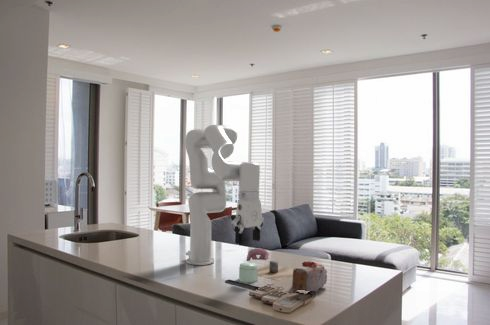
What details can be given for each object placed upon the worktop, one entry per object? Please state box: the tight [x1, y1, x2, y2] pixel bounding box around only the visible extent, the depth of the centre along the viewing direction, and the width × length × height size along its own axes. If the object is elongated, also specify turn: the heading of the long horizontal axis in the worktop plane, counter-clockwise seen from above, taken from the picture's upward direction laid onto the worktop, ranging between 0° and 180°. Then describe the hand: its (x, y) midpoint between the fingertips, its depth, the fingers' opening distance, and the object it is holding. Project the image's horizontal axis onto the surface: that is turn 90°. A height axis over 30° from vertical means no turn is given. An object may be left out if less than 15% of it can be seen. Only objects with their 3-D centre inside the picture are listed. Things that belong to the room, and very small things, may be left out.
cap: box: [238, 262, 259, 284], centre depth 145 cm, size 7×7×6 cm
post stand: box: [257, 260, 294, 282], centre depth 157 cm, size 18×18×6 cm
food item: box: [291, 261, 328, 292], centre depth 139 cm, size 14×8×10 cm, turn 142°
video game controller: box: [246, 247, 270, 262], centre depth 182 cm, size 10×5×7 cm, turn 75°
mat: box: [224, 279, 261, 291], centre depth 145 cm, size 14×10×1 cm
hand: (247, 242), depth 146 cm, fingers open, 9 cm apart
